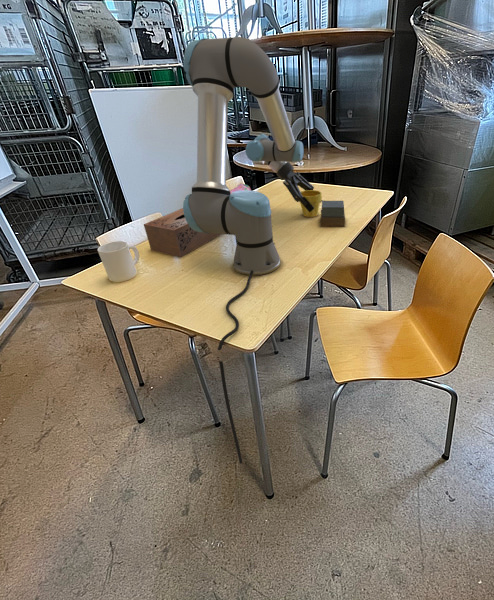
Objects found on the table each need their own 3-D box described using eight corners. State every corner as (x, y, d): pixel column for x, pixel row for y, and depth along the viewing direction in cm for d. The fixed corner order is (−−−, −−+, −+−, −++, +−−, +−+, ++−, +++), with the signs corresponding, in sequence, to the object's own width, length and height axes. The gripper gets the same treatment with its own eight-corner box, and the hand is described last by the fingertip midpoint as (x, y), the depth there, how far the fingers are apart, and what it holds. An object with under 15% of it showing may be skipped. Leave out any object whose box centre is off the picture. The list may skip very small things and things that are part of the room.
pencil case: (234, 214, 154) (231, 194, 150) (216, 212, 157) (213, 193, 152) (254, 200, 171) (252, 182, 166) (238, 199, 174) (235, 181, 169)
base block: (344, 226, 138) (345, 217, 136) (320, 226, 139) (320, 217, 137) (343, 218, 146) (344, 209, 144) (321, 218, 147) (321, 209, 145)
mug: (134, 263, 114) (124, 235, 108) (151, 268, 111) (143, 238, 105) (103, 279, 105) (91, 249, 99) (121, 284, 102) (110, 254, 96)
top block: (343, 216, 136) (344, 207, 134) (321, 217, 137) (321, 207, 135) (343, 209, 144) (343, 200, 142) (322, 209, 144) (322, 200, 142)
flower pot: (295, 213, 154) (294, 191, 148) (315, 209, 157) (315, 188, 152) (304, 220, 146) (304, 197, 141) (325, 216, 149) (325, 194, 144)
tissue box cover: (180, 257, 117) (174, 230, 112) (151, 250, 123) (143, 224, 117) (226, 231, 137) (222, 207, 131) (198, 226, 142) (193, 203, 137)
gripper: (287, 168, 156) (318, 204, 160) (265, 179, 138) (301, 220, 142) (297, 156, 151) (329, 193, 155) (276, 166, 134) (313, 209, 137)
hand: (316, 206), depth 148 cm, fingers closed on flower pot, 10 cm apart
